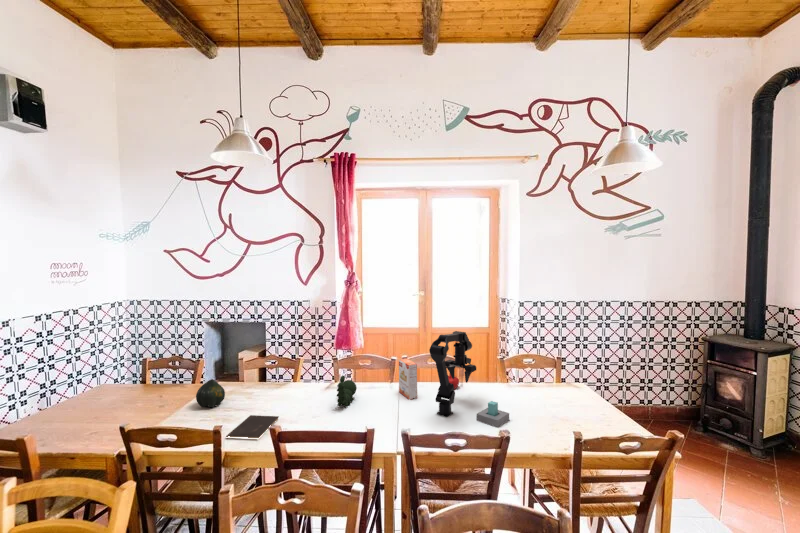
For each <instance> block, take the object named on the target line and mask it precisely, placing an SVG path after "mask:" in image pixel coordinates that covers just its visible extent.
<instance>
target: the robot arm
mask: <svg viewBox="0 0 800 533" xmlns="http://www.w3.org/2000/svg"><path fill="white" fill-rule="evenodd" d="M452 342H455V343H454V344H453V347H454V355H453V358H454V360H453V359H447V360H446V358H447V356H448V354H447V353H448V351H449V350H450V347H449V343H452ZM441 343H445V344H444V346H443V345H441ZM472 347H473V343H472V342H471V340H470V339H469V337H468V334H467V333H466V332H465V331H459V330H458V331H457V330H455V331H453V332H452V333H449V334H448V333H447V334H439V336H438V338H436V339H435V340H434V341H432V343H431V346H430V347H429V350H428V352H429V354H430V357H431V359H432V360H433V362H435V366H436V371H437V375H438V381H439V387H438V389H437V390H438V391H437V394H436V397H435V402H436V403H438V411H437V412H436V414H437V415H439V416H442V417H444V418H447V417H449V416H451V415H453V414H454V412H453V411H452V405H454V403H455V398H456V391H455V390H456V388H455V389H454V385H453V384H452V383H449V379H448V376H449V375H450V374H451V376H452V378H453V379H454V377H456V375H455V374H456V373H455V369H456V368H461V369H464V379H465V383H467V384H468V382H469V379H470V377H471V374H472V373H474V372H476V371H477V366H476V365H475V364H471V362H472V358H470V357H468V356H467V354H466V352H467V351H470V350H471V349H472ZM448 372H449V373H450V374H449V375H448Z"/></svg>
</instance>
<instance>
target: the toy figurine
mask: <svg viewBox="0 0 800 533" xmlns="http://www.w3.org/2000/svg"><path fill="white" fill-rule="evenodd" d="M345 379H346V377H345V375H341V376H340V378H339V383H338V384H337V385H336V387H337V389H336V392H337V393H336V397H337V400H336V402H337V406H338V407H341V406H342V405H344V407H348V406H350V405H351V403H352V402H353V401H354V398H353V397H354V395H355V394H356V392H357V384H356V383H355V381H353V380H352V379H347V380H345ZM341 404H342V405H341Z"/></svg>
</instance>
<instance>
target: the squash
mask: <svg viewBox="0 0 800 533" xmlns="http://www.w3.org/2000/svg"><path fill="white" fill-rule="evenodd" d="M225 397H226V391H225V389H224V387H223V386H222V385H220V384H219V383H218V382H217V381H216V379H213V378H211V379H209V380H208V381H206V382H205V383H204V384H202V385H201V386H200V387H199V389H198V390H197V392H196V394H195V400H196V402H197V404H198V405H199V406H200V407H208V408H210V407H212V408H214V407H216V406H215V405H218V406H219V405H220V404H222V402H223V401H224V400H225ZM213 406H214V407H213Z"/></svg>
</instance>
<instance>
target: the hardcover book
mask: <svg viewBox="0 0 800 533" xmlns="http://www.w3.org/2000/svg"><path fill="white" fill-rule="evenodd" d="M279 417H280V416H279V415H278V416H276V415H257V414H256V415H254V414H252V415H249V416H248V417H246V418H245V419H244V420H243V421H242V422H240V423H239V424H238V425H236V427H235V428H234V429H232V430H231V431H230V432H229V433H228V434H226V436H225V438H226V437H228V436H230V437H248V438H259V437H260V436H261V435H262V434H263V433H264V432H265V431H266V430H267V429H268V431H269V430H270V429H269V426H270V425H272V426H274V425H275V424H276V422H278V421H279ZM275 421H276V422H275Z"/></svg>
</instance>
